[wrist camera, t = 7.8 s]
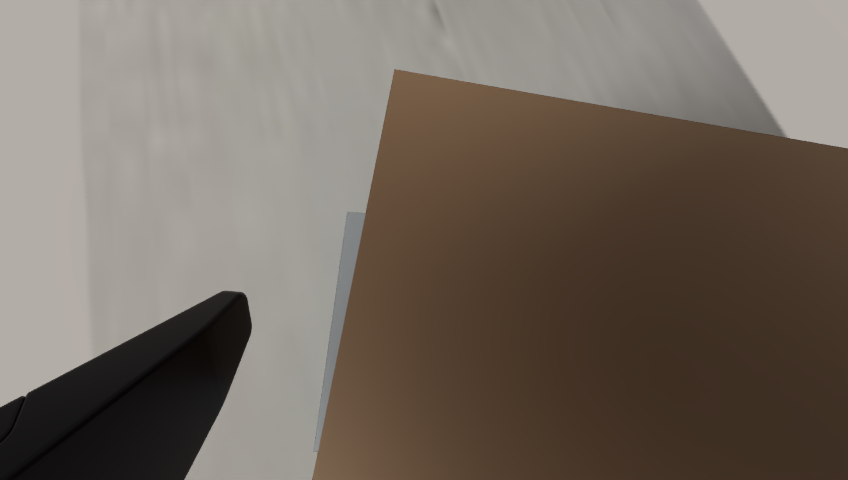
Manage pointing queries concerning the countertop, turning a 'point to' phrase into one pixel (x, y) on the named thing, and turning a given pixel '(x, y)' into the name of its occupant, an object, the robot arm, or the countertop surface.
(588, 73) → the countertop surface
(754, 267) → the walnut block
